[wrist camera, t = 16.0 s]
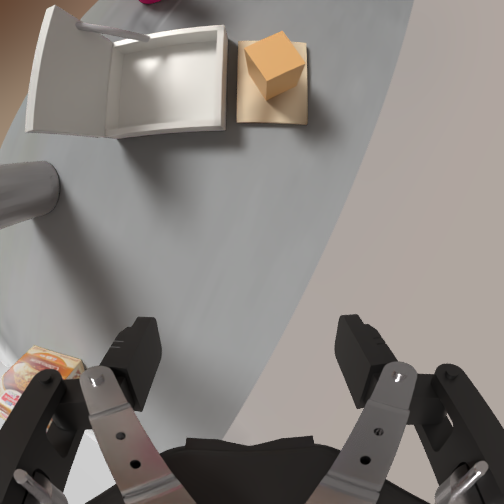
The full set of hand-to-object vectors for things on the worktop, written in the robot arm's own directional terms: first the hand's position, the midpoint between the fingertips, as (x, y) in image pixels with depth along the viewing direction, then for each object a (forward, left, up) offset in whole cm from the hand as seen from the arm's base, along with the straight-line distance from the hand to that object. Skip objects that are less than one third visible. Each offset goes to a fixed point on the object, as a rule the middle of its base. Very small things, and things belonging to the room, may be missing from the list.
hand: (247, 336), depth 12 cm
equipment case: (-12, +19, -28) cm, 36 cm away
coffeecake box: (-42, -31, -28) cm, 60 cm away
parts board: (+2, +19, -28) cm, 34 cm away
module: (+2, +19, -27) cm, 33 cm away
